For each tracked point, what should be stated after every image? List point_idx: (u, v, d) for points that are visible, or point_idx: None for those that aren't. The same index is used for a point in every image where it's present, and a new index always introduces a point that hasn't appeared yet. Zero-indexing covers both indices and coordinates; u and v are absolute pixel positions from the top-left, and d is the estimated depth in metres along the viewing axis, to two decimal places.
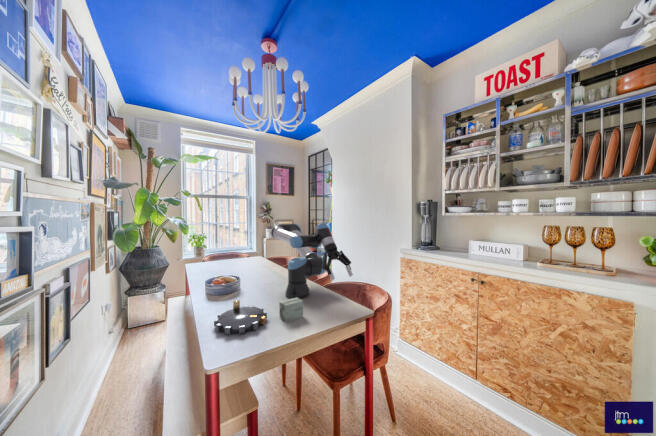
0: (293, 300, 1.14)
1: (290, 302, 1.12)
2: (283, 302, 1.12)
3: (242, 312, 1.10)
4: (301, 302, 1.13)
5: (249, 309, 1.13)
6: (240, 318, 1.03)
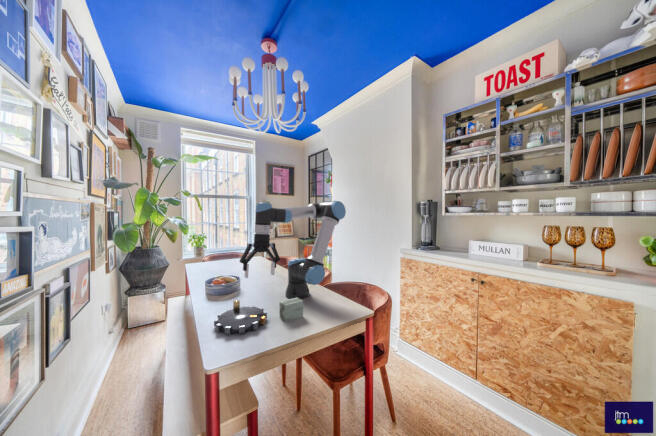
0: (293, 300, 1.14)
1: (290, 302, 1.12)
2: (283, 302, 1.12)
3: (242, 312, 1.10)
4: (301, 302, 1.13)
5: (249, 309, 1.13)
6: (240, 318, 1.03)
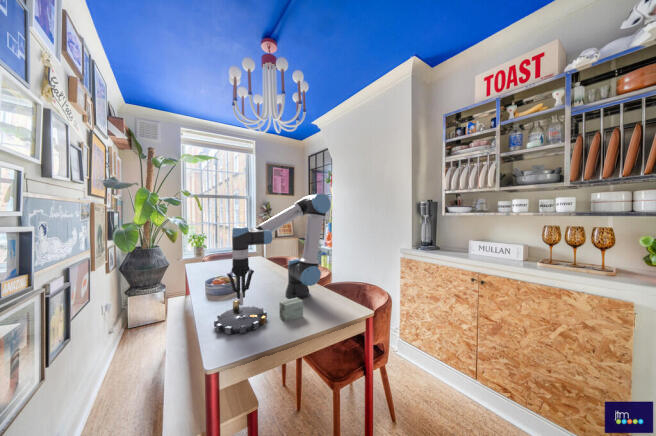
0: (293, 300, 1.14)
1: (290, 302, 1.12)
2: (283, 302, 1.12)
3: (242, 312, 1.10)
4: (301, 302, 1.13)
5: (249, 309, 1.14)
6: (240, 318, 1.03)
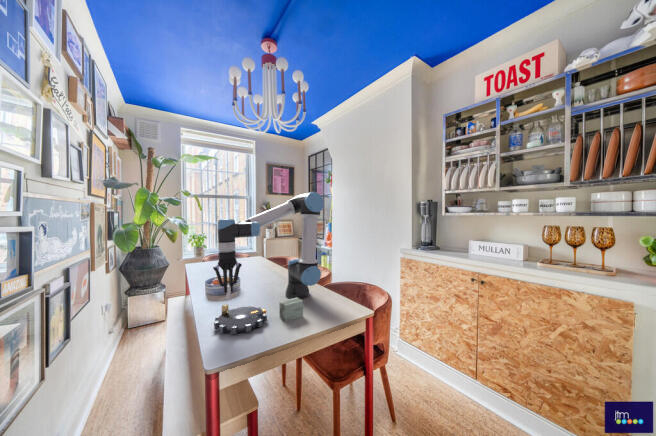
0: (293, 300, 1.14)
1: (290, 302, 1.12)
2: (283, 302, 1.12)
3: (236, 313, 1.08)
4: (301, 302, 1.13)
5: (238, 309, 1.13)
6: (245, 317, 1.05)
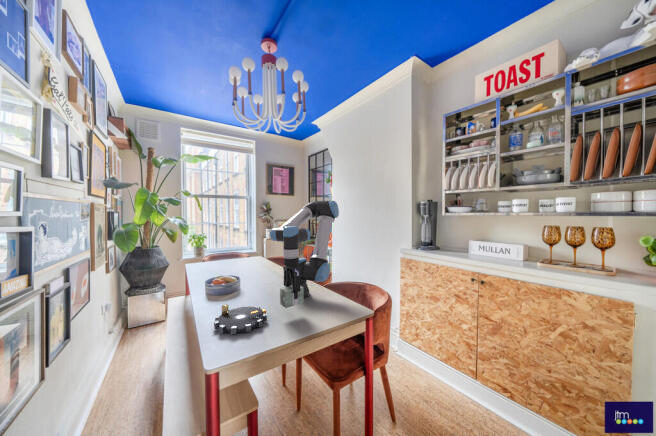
0: None
1: (291, 288, 1.12)
2: (284, 288, 1.12)
3: (236, 313, 1.08)
4: (302, 288, 1.14)
5: (238, 309, 1.13)
6: (245, 317, 1.05)
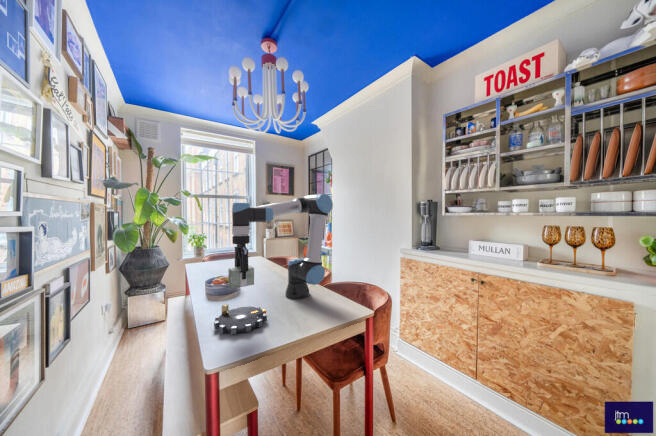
0: None
1: (239, 268, 1.05)
2: (232, 268, 1.05)
3: (236, 313, 1.08)
4: (252, 269, 1.06)
5: (238, 309, 1.13)
6: (245, 317, 1.05)
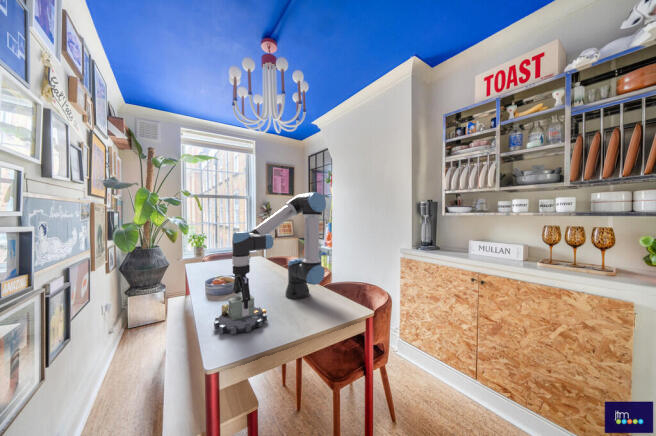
0: None
1: (239, 299, 1.05)
2: (232, 299, 1.05)
3: None
4: (252, 299, 1.06)
5: None
6: (245, 317, 1.05)
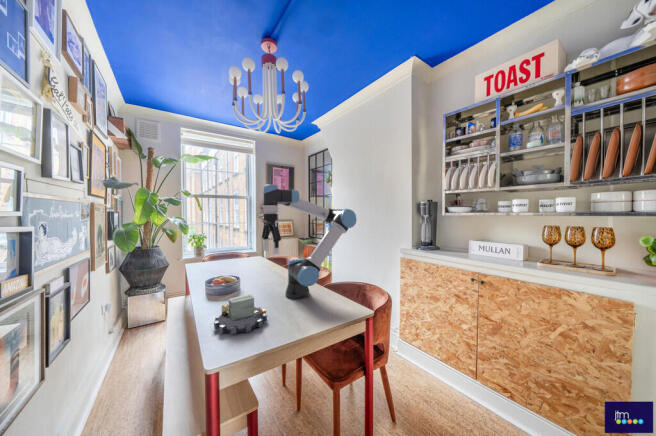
0: (244, 297, 1.07)
1: (239, 299, 1.05)
2: (232, 299, 1.05)
3: None
4: (252, 299, 1.06)
5: None
6: (245, 317, 1.05)
